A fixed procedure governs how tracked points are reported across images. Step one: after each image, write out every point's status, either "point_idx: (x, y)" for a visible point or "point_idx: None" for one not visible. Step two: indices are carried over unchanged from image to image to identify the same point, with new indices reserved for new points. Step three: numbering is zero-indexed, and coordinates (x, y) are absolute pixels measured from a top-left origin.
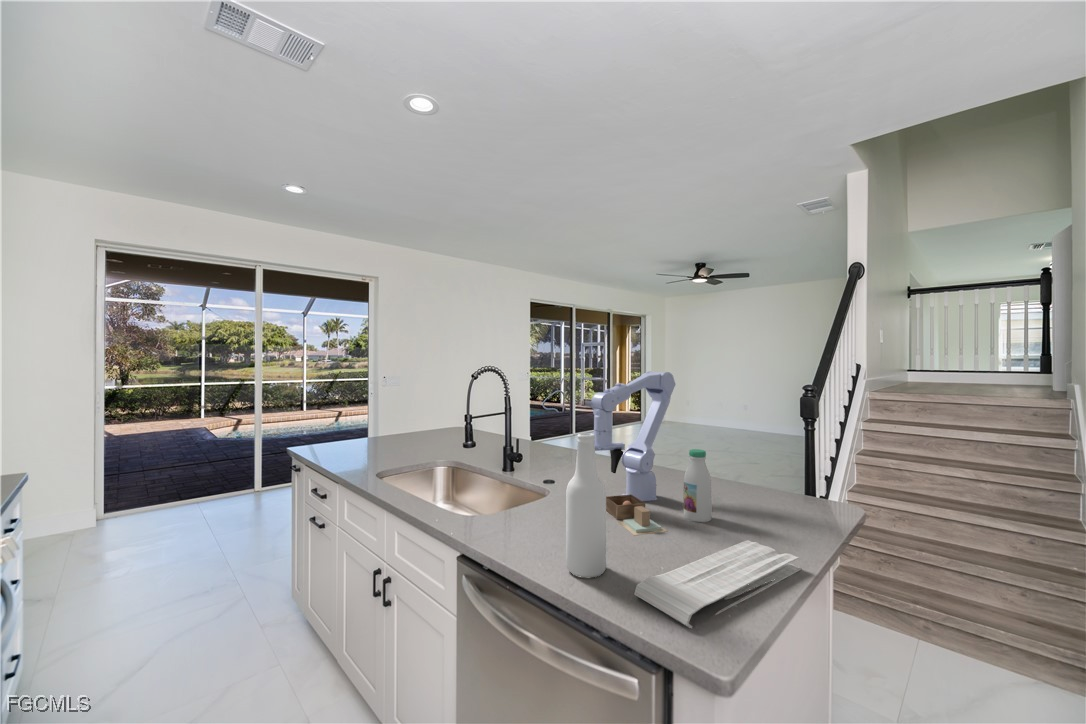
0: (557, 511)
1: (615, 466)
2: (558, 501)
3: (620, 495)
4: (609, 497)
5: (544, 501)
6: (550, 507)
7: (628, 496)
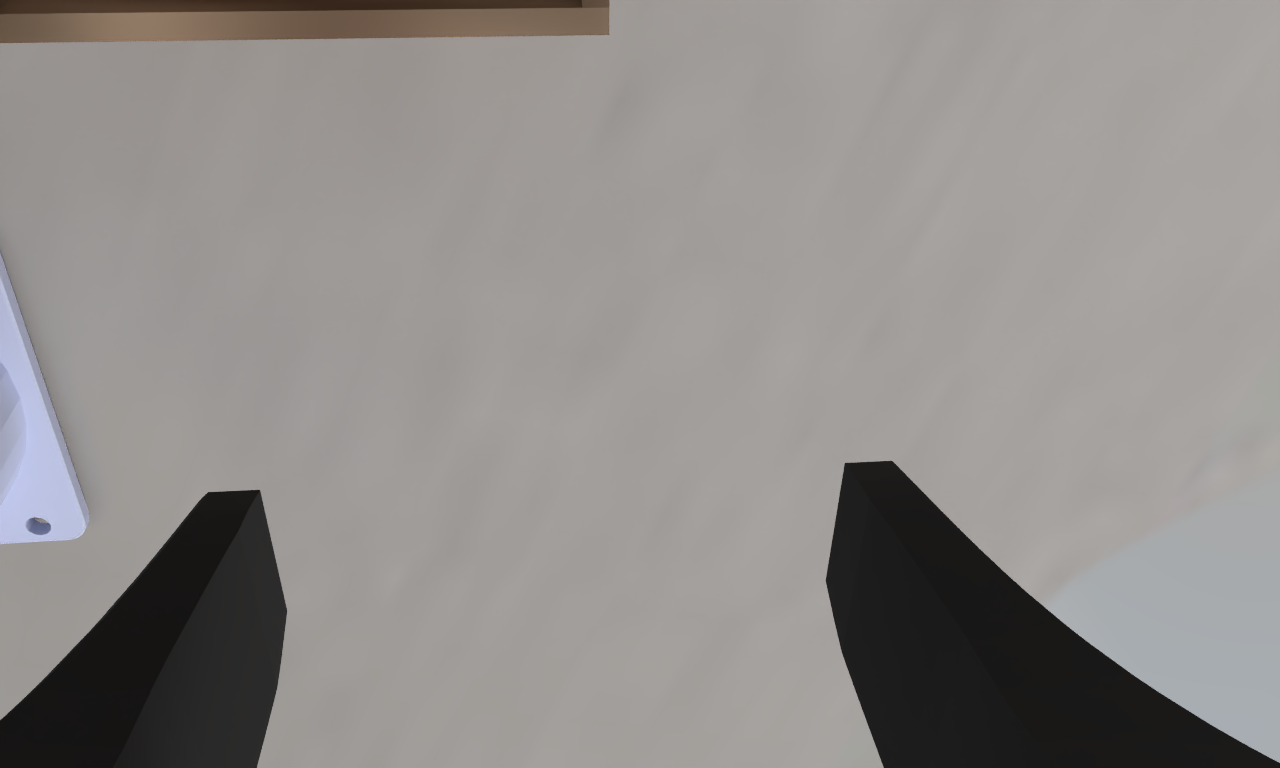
0: (1257, 120)
1: (176, 604)
2: (1020, 465)
3: (244, 27)
4: (510, 6)
5: (1169, 492)
6: (1238, 288)
7: (57, 4)
